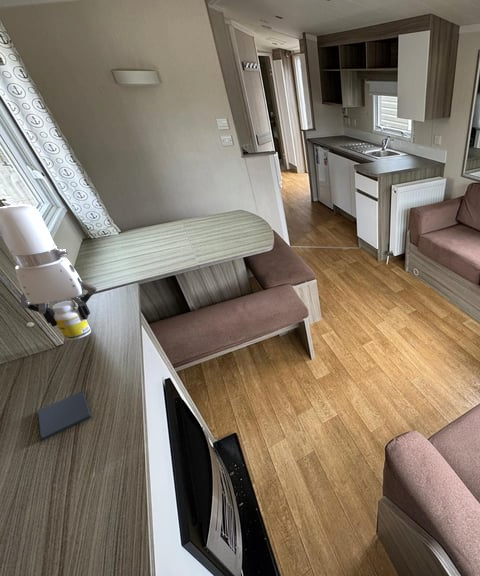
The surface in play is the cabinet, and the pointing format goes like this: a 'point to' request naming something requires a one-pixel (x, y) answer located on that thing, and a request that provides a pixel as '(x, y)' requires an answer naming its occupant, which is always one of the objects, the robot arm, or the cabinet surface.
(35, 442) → the cabinet surface
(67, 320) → the supplement bottle
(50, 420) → the mat
